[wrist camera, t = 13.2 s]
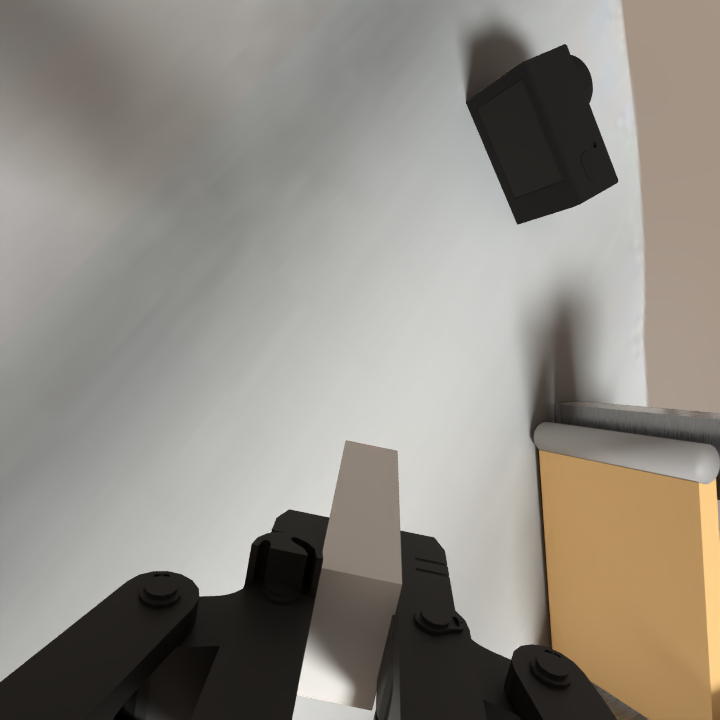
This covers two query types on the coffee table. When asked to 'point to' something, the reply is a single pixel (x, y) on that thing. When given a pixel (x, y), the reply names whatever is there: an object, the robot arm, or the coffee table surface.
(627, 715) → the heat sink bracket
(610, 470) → the orange wooden board
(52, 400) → the coffee table surface
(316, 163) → the coffee table surface
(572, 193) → the digital camera
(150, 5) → the coffee table surface
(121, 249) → the coffee table surface
